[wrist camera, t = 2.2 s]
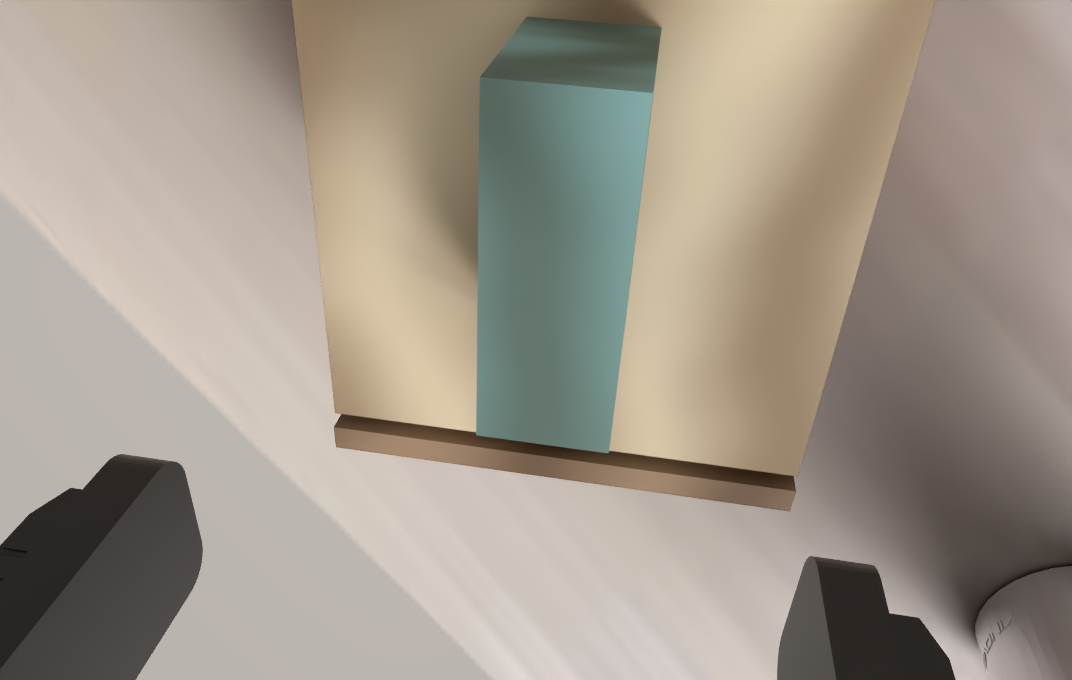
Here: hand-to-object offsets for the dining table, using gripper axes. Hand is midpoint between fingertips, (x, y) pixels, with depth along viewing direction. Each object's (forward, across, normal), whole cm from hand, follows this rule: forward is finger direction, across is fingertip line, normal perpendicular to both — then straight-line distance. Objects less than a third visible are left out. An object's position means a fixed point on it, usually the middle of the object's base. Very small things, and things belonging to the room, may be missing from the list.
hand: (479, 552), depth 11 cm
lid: (+13, 0, 0) cm, 13 cm away
